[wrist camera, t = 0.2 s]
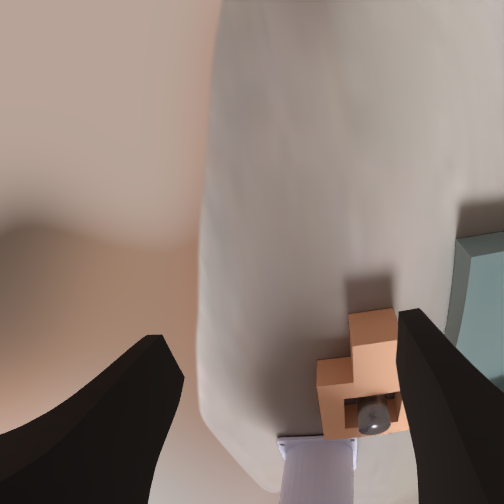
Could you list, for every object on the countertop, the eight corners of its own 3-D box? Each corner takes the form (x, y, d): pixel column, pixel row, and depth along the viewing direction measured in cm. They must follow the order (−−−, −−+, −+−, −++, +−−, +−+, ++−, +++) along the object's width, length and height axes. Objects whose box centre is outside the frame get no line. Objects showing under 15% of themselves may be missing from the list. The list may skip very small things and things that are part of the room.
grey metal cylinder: (383, 393, 23) (389, 432, 19) (355, 397, 23) (358, 437, 20) (385, 375, 22) (392, 416, 18) (355, 380, 22) (358, 421, 19)
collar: (411, 406, 23) (416, 432, 21) (324, 417, 25) (324, 445, 23) (428, 301, 18) (441, 331, 16) (310, 318, 20) (309, 351, 18)
